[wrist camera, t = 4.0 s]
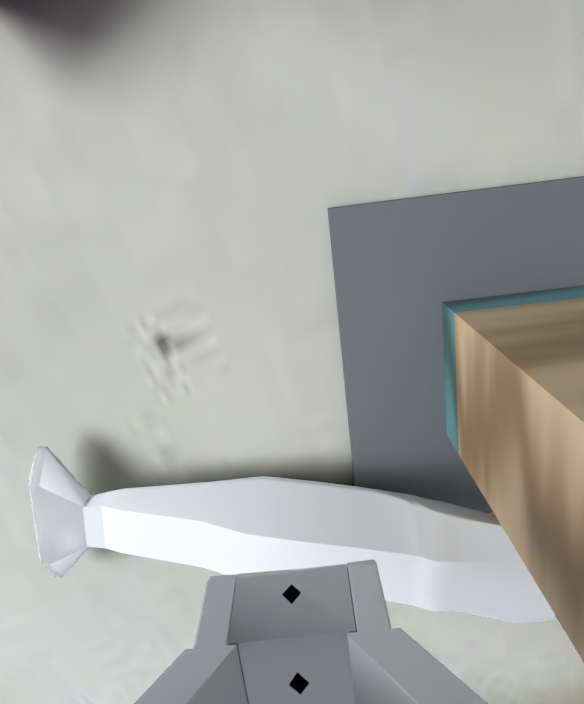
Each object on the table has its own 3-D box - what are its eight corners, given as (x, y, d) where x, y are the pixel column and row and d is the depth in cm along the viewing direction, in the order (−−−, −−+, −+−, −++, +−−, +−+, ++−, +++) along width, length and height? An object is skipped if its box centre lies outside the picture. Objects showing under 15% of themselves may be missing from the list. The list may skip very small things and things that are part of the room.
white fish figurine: (518, 581, 22) (553, 668, 18) (71, 541, 23) (17, 613, 19) (542, 455, 20) (586, 522, 16) (57, 421, 21) (-6, 475, 18)
